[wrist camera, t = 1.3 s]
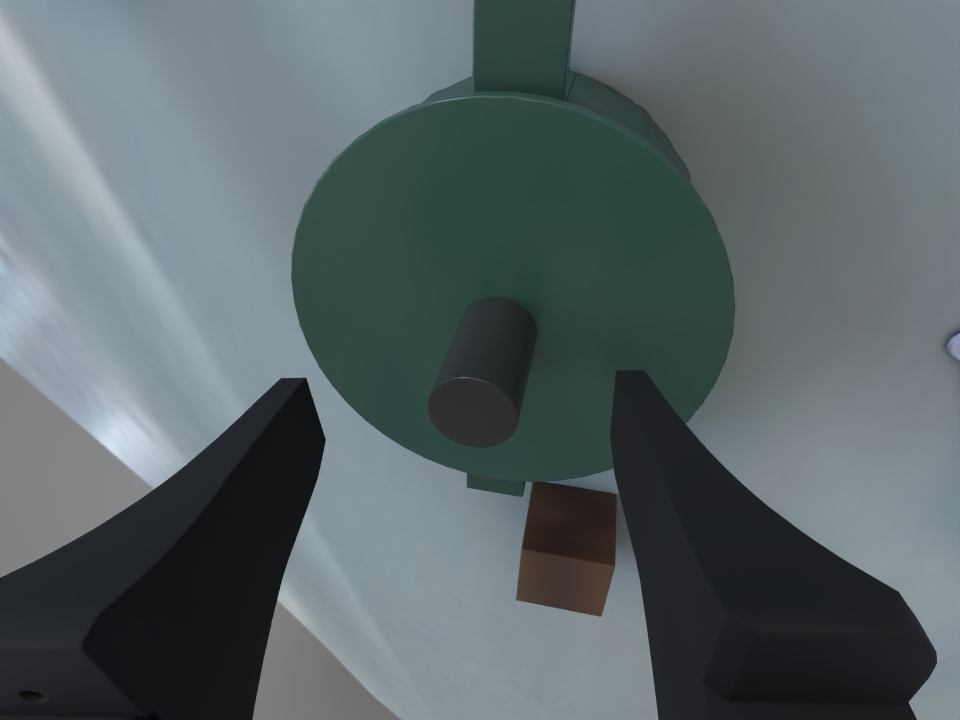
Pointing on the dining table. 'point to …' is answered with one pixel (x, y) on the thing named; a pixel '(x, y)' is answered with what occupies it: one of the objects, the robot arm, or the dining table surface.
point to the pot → (542, 90)
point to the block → (568, 548)
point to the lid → (509, 282)
